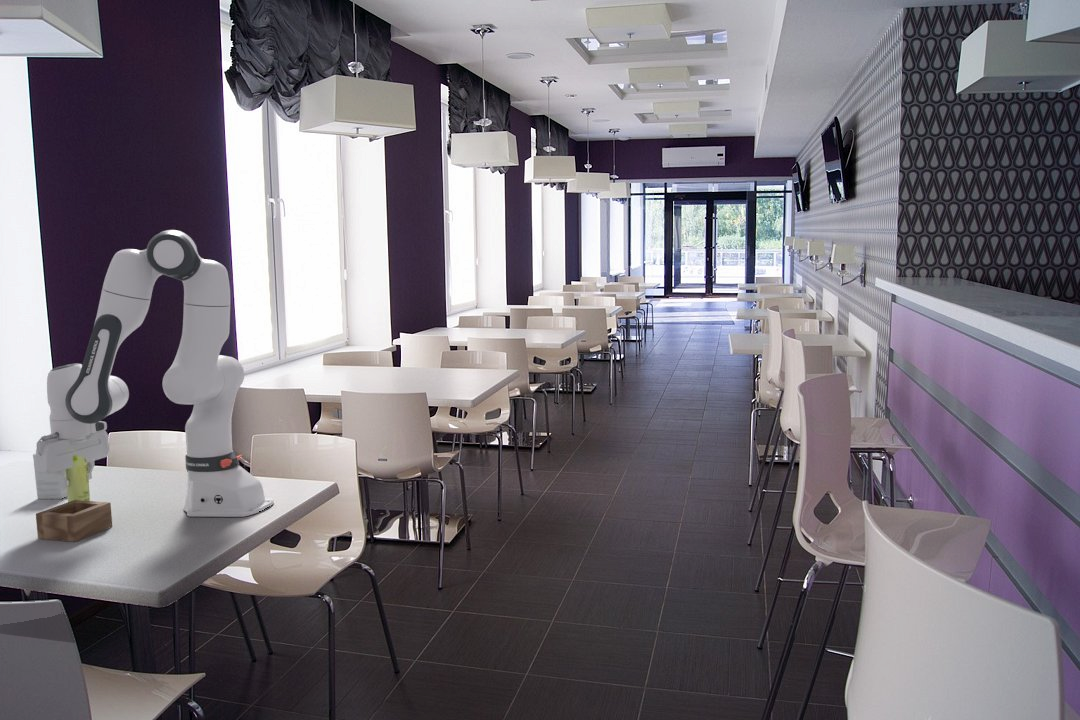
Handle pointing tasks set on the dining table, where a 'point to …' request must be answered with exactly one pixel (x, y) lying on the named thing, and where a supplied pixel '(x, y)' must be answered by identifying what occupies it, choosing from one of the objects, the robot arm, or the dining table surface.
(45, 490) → the supplement box
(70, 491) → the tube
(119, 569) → the dining table surface
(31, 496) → the dining table surface
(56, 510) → the wooden box
